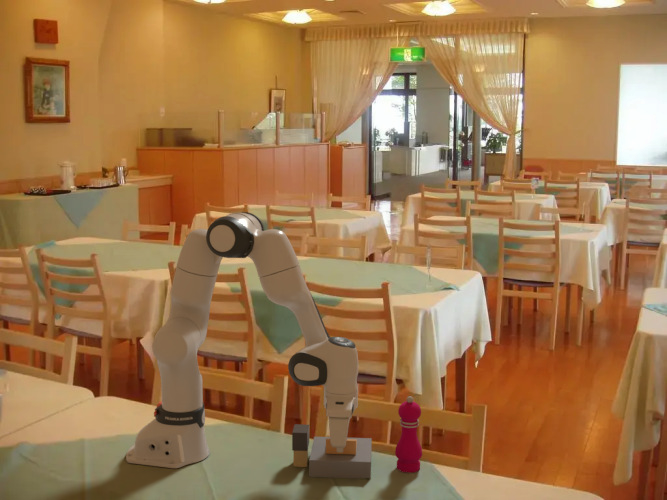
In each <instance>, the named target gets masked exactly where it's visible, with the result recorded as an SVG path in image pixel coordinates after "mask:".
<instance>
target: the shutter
mask: <svg viewBox="0 0 667 500" xmlns="http://www.w3.org/2000/svg"><path fill="white" fill-rule="evenodd" d="M356 448H357V440H356V439H347V441H346V446H345V447H344V450H343V452H342V453H341V452H337V447H332V446H331V441H330V439H326V454H353V455H356Z"/></svg>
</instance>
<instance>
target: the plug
mask: <svg viewBox="0 0 667 500" xmlns="http://www.w3.org/2000/svg"><path fill="white" fill-rule="evenodd" d="M291 440H292V441H291V442H292V443H291V444H292V445H291V447H292V449H291V450H292V451H293V463H292V464H293V467H301V468H302V467H305V468H306V467H307V468H308V464H309V446H310V424H297V423H296V424H293V429H292V437H291Z"/></svg>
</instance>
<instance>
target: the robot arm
mask: <svg viewBox="0 0 667 500" xmlns="http://www.w3.org/2000/svg"><path fill="white" fill-rule="evenodd" d="M223 258H227V259H245V258H249V259H250V260H251V261H252V262H253V264H254V266H255V269H256V272H257V275H258V277H259V278H258V279H259V281H260V284H261V288H262V290H263V292H264V294H265V295H266V297H267V299H268V300H269V301H270V302H271V303H273V304H275V305H278V306H283V307H284V308H287V309H289V310H290V311H291V312H292V313H293V315H294V316H295V318H296V320H297V323H298V326H299V328H300V330H301V333H302V336H303V337H304V341H305V345H304V347H302V348H301V349H299V350H298V351H297V352H295V353H294V354H293V355H291V357H290V358H289V361H288V367H287V369H288V373H289V376H290V377H291V379H292V381H293V382H294V383H296V384H298V385H299V386H301V387H316V386H317V387H318V386H323V407H324V409H325V413H326V414H325V415H326V417H327V418H328V428H329V430H328V431H329V437H330V441H331V446H332V447H337V452H341V453H342V452H343V450H344V447H345V446H346V441H347V438H348V434H349V433H348V432H349V425H350V420H351V419H352V416H353V414H354V411H355V410H356V409H357V408H358V406H359V386H358V382H357V381H358V380H357V379H358V376H359V356H358V355H359V354H358V350H357V349H358V348H357V346H356V344H355V342H353V341H352V340H351V339H349V338H346V337H343V336H342V337H341V336H330V334H329V333H328V331H327V328H326V325H325V323H324V320H323V319H322V318H323V317H322V316H321V313H320V311H319V308H318V307H317V304H316V302H315V299H314V297H313V295H312V293H311V291H310V289H309V287H308V285H307V281H306V280H305V277H304V275H303V270H302V268H301V265H300V263H299V260H298V257H297V254H296V251H295V249H294V247H293V245H292V243H291V241H290V239H289V238H288V236H287V234H286V232H284V231H283V230H280V229H276V228H270V229H266V230H265V226H264V223H263V222H262V220H261V219H260V218H259V217H258V216H257V215H256V214H254V213H251V212H248V211H241V212H233V213H230V214H226V215H225V216H220V217H219V218H217V219H214V221H213V222H211V224H210V225H209V226H208V228H207V229H206V228H197V229H193V230H191V231H189V233H188V234H187V236H186V239H185V241H184V242H183V244H182V247H181V250H180V252H179V255H178V259H177V263H176V266H175V267H176V268H175V271H174V276H173V279H172V285H171V288H170V293H169V294H170V295H169V296H170V310H169V316H168V319H167V320H166V323H165V324H163V325H162V326H161V327H159V329H158V330H157V331H156V333H155V335H154V337H153V340H152V345H151V349H152V353H153V356H154V357H155V359H156V361H157V367H158V371H159V375H160V382H161V383H160V385H161V387H160V388H161V401H158V403H157V405H156V407H155V408H154V411H153V417H154V419H153V420H152V421H150V422H149V423H147V424H146V425H144V426H143V427H142V428H141V429H140V430H139V431H138V433H137V434H136V437H135V441H134V444H132V445H131V446H130V448H129V449H127V452H126V456H125V460H126V462H127V463H129V464H137V465H143V466H151V467H152V466H153V467H162V468H169V469H179V468H182V467H184V466H186V465H191V464H195V463H198V462H201V461H203V460H205V459H207V458H208V456H209V455H210V453H211V452H210V448H209V446H208V443H207V437H206V430H205V423H206V409H205V403H204V401H203V397H204V396H203V395H204V393H203V375H202V374H201V372H200V368H199V364H198V351H199V348H200V347H201V346H202V345H203V343H204V342H205V340H206V337H207V334H208V327H209V319H210V314H211V313H210V311H211V304H212V298H213V293H214V290H215V285H216V282H217V278H218V274H219V269H220V266H221V263H222V260H223Z"/></svg>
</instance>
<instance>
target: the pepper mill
mask: <svg viewBox="0 0 667 500" xmlns="http://www.w3.org/2000/svg"><path fill="white" fill-rule="evenodd" d="M397 413H398V415H399V418H400V419H399V421H400V423H399V425H400V427H401V433H400V434H401V435H400V437H399V440H398V442H397V444H396V446H395V452H394V454H395V456H396V458H397V460H396V469H397V470H398V471H400V472H401V473H402V472H403V473H407V474H409V473H417V472H418V471H420V469H421V461H420V460H421V458H422V457H423V448H422V445H421V442H420V441H419V438H418V433H417V430H418V427H419V425H420V423H419V422H420V420H419V418H420V417H421V416H422V409H421V406H420V404H419V403H417V402H415V401H414V397H413V396H411V395H410V396H409V395H408V396H407V397H406V401H404V402H402V403H400V405H399V407H398V411H397Z"/></svg>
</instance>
